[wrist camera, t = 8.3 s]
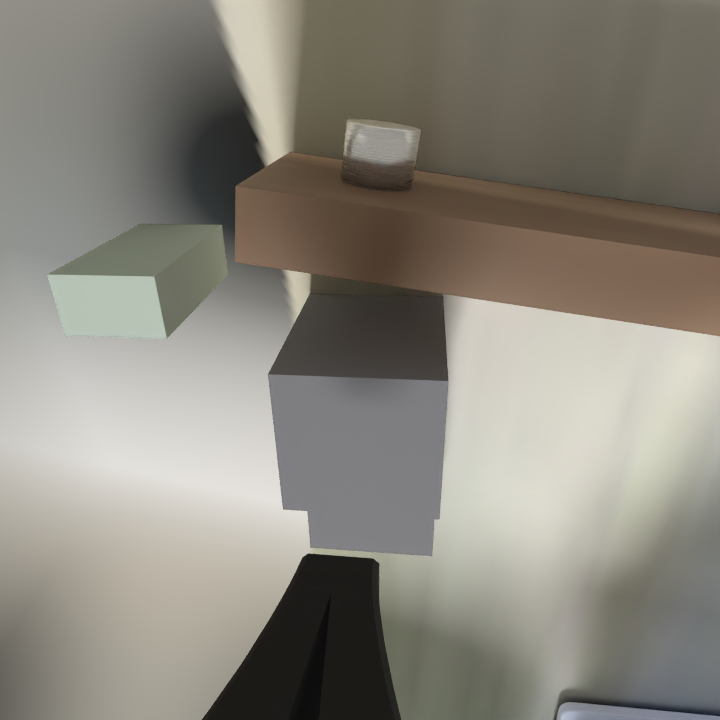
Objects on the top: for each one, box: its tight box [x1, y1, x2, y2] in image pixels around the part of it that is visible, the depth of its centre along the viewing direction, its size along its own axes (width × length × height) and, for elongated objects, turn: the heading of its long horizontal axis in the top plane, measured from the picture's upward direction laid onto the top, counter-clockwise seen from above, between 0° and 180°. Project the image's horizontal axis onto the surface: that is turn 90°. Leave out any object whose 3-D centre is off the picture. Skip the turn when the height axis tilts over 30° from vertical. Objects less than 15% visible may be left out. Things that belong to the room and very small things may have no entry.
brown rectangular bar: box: [235, 119, 720, 336], centre depth 12 cm, size 3×14×5 cm, turn 83°
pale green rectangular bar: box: [47, 224, 228, 339], centre depth 13 cm, size 2×22×4 cm, turn 91°
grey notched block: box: [268, 294, 448, 556], centre depth 16 cm, size 8×4×5 cm, turn 1°
